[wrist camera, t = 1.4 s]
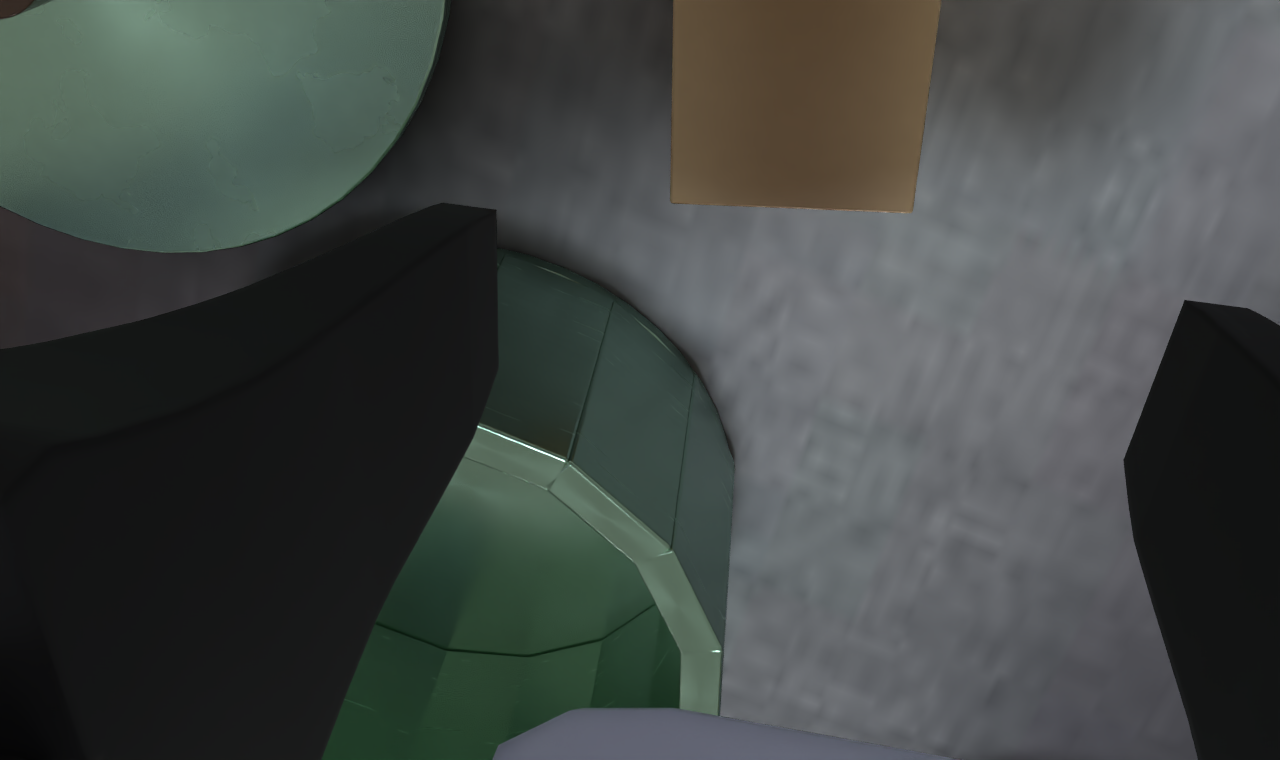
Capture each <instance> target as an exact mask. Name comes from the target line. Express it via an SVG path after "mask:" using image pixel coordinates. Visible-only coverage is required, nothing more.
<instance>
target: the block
mask: <svg viewBox="0 0 1280 760" xmlns="http://www.w3.org/2000/svg"><path fill="white" fill-rule="evenodd" d="M941 1H942V0H673V43H672V111H671V179H670V201H671V203H674V204H698V205H722V206H746V207H770V208H794V209H818V210H842V211H866V212H890V213H912V211H913V206H914V198H915V191H916V184H917V176H918V169H919V162H920V155H921V147H922V140H923V133H924V125H925V118H926V111H927V103H928V96H929V89H930V81H931V74H932V67H933V60H934V52H935V45H936V38H937V30H938V23H939V16H940V8H941Z"/></svg>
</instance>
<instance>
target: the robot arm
mask: <svg viewBox="0 0 1280 760" xmlns="http://www.w3.org/2000/svg"><path fill="white" fill-rule="evenodd" d="M498 369H499V349H498V284H497V219H496V210H493V209H486V208H478V207H471V206H463V205H455V204H448V203H440V204H437V205H434V206H430V207H428V208H425V209H422V210H420V211H417V212H415V213H413V214H410V215H408V216H406V217H403V218H401V219H399V220H397V221H395V222H392V223H390V224H388V225H386V226H384V227H382V228H380V229H377V230H375V231H373V232H371V233H369V234H367V235H364V236H362V237H360V238H358V239H356V240H354V241H352V242H349V243H347V244H345V245H343V246H341V247H339V248H336V249H334V250H332V251H330V252H328V253H326V254H323V255H321V256H319V257H317V258H314V259H312V260H310V261H307V262H305V263H302V264H300V265H297V266H295V267H293V268H290V269H288V270H285V271H283V272H280V273H278V274H275V275H273V276H271V277H268V278H266V279H263V280H261V281H258V282H256V283H253V284H251V285H249V286H246V287H244V288H241V289H238V290H236V291H233V292H230V293H227V294H225V295H222V296H219V297H216V298H213V299H210V300H207V301H204V302H201V303H198V304H195V305H191V306H188V307H185V308H181V309H178V310H175V311H171V312H168V313H165V314H161V315H158V316H155V317H151V318H147V319H144V320H140V321H136V322H132V323H128V324H123V325H119V326H114V327H110V328H105V329H101V330H96V331H92V332H87V333H83V334H78V335H74V336H70V337H65V338H61V339H56V340H52V341H47V342H42V343H37V344H31V345H25V346H19V347H13V348H7V349H0V760H321V759H322V757H323V754H324V752H325V749H326V746H327V744H328V741H329V738H330V736H331V733H332V730H333V728H334V725H335V723H336V720H337V717H338V715H339V712H340V709H341V707H342V704H343V701H344V699H345V696H346V694H347V691H348V689H349V686H350V684H351V681H352V679H353V676H354V674H355V671H356V669H357V666H358V664H359V661H360V659H361V656H362V654H363V652H364V649H365V647H366V644H367V642H368V639H369V637H370V634H371V632H372V629H373V627H374V624H375V622H376V620H377V617H378V615H379V613H380V611H381V609H382V607H383V605H384V603H385V601H386V599H387V597H388V595H389V593H390V591H391V589H392V586H393V584H394V583H395V581H396V579H397V577H398V575H399V573H400V572H401V570H402V568H403V566H404V564H405V563H406V561H407V559H408V557H409V555H410V554H411V552H412V550H413V548H414V546H415V544H416V543H417V541H418V539H419V537H420V535H421V534H422V532H423V530H424V528H425V526H426V525H427V523H428V521H429V519H430V517H431V515H432V514H433V512H434V510H435V508H436V506H437V505H438V503H439V501H440V499H441V497H442V496H443V494H444V492H445V490H446V488H447V486H448V485H449V483H450V481H451V479H452V477H453V475H454V473H455V472H456V470H457V468H458V466H459V464H460V462H461V460H462V459H463V457H464V455H465V453H466V451H467V449H468V447H469V445H470V443H471V442H472V440H473V438H474V435H475V433H476V430H477V427H478V425H479V422H480V419H481V417H482V414H483V412H484V409H485V406H486V403H487V400H488V398H489V395H490V392H491V389H492V386H493V383H494V380H495V377H496V375H497V372H498ZM1124 468H1125V477H1126V486H1127V495H1128V504H1129V511H1130V518H1131V524H1132V531H1133V538H1134V542H1135V546H1136V549H1137V553H1138V557H1139V560H1140V564H1141V567H1142V570H1143V574H1144V577H1145V581H1146V584H1147V587H1148V591H1149V594H1150V597H1151V601H1152V604H1153V607H1154V611H1155V614H1156V617H1157V620H1158V624H1159V627H1160V630H1161V633H1162V637H1163V640H1164V643H1165V646H1166V650H1167V653H1168V656H1169V659H1170V663H1171V666H1172V669H1173V672H1174V676H1175V679H1176V682H1177V685H1178V689H1179V692H1180V695H1181V698H1182V702H1183V705H1184V708H1185V711H1186V715H1187V718H1188V721H1189V725H1190V729H1191V733H1192V737H1193V741H1194V745H1195V749H1196V753H1197V757H1198V760H1280V326H1279V325H1278V324H1276V323H1274V322H1273V321H1271V320H1269V319H1268V318H1266V317H1264V316H1262V315H1260V314H1258V313H1256V312H1254V311H1252V310H1250V309H1248V308H1241V307H1233V306H1226V305H1218V304H1210V303H1203V302H1195V301H1188V300H1185V301H1184V303H1183V306H1182V309H1181V311H1180V314H1179V316H1178V319H1177V322H1176V324H1175V327H1174V329H1173V332H1172V335H1171V337H1170V340H1169V343H1168V345H1167V348H1166V350H1165V353H1164V356H1163V358H1162V361H1161V364H1160V366H1159V369H1158V371H1157V374H1156V377H1155V379H1154V382H1153V384H1152V387H1151V390H1150V392H1149V395H1148V398H1147V400H1146V403H1145V405H1144V408H1143V411H1142V413H1141V416H1140V419H1139V421H1138V424H1137V426H1136V429H1135V432H1134V434H1133V437H1132V439H1131V442H1130V445H1129V447H1128V450H1127V453H1126V455H1125V458H1124ZM492 760H961V759H956V758H950V757H945V756H939V755H933V754H928V753H922V752H917V751H911V750H906V749H900V748H894V747H889V746H883V745H878V744H872V743H867V742H861V741H855V740H850V739H844V738H839V737H833V736H828V735H822V734H816V733H811V732H805V731H800V730H794V729H789V728H783V727H778V726H772V725H766V724H761V723H755V722H750V721H744V720H739V719H733V718H727V717H722V716H716V715H711V714H705V713H700V712H694V711H688V710H683V709H677V708H580V709H575V710H570V711H568V712H565V713H563V714H561V715H559V716H557V717H555V718H553V719H551V720H549V721H547V722H545V723H543V724H541V725H539V726H537V727H535V728H532V729H530V730H528V731H526V732H524V733H522V734H520V735H518V736H516V737H514V738H512V739H510V740H508V741H506V742H504V743H502V744H500V745H498V747H497V750H496V752H495V754H494V757H493V759H492Z"/></svg>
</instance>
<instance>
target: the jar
mask: <svg viewBox="0 0 1280 760" xmlns="http://www.w3.org/2000/svg"><path fill="white" fill-rule="evenodd" d="M497 284H498V349H499V369H498V372H497V375H496V377H495V380H494V383H493V386H492V389H491V392H490V395H489V398H488V400H487V403H486V406H485V409H484V412H483V414H482V417H481V419H480V422H479V425H478V427H477V430H476V433H475V435H474V438H473V440H472V442H471V443H470V445H469V447H468V449H467V451H466V453H465V455H464V457H463V459H462V460H461V462H460V464H459V466H458V468H457V470H456V472H455V473H454V475H453V477H452V479H451V481H450V483H449V485H448V486H447V488H446V490H445V492H444V494H443V496H442V497H441V499H440V501H439V503H438V505H437V506H436V508H435V510H434V512H433V514H432V515H431V517H430V519H429V521H428V523H427V525H426V526H425V528H424V530H423V532H422V534H421V535H420V537H419V539H418V541H417V543H416V544H415V546H414V548H413V550H412V552H411V554H410V555H409V557H408V559H407V561H406V563H405V564H404V566H403V568H402V570H401V572H400V573H399V575H398V577H397V579H396V581H395V583H394V584H393V586H392V589H391V591H390V593H389V595H388V597H387V599H386V601H385V603H384V605H383V607H382V609H381V611H380V613H379V615H378V617H377V620H376V622H375V624H374V627H373V629H372V632H371V634H370V637H369V639H368V642H367V644H366V647H365V649H364V652H363V654H362V656H361V659H360V661H359V664H358V666H357V669H356V671H355V674H354V676H353V679H352V681H351V684H350V686H349V689H348V691H347V694H346V696H345V699H344V701H343V704H342V707H341V709H340V712H339V715H338V717H337V720H336V723H335V725H334V728H333V730H332V733H331V736H330V738H329V741H328V744H327V746H326V749H325V752H324V754H323V757H322V759H321V760H492V759H493V757H494V754H495V752H496V750H497V747H498V745H500V744H502V743H504V742H506V741H508V740H510V739H512V738H514V737H516V736H518V735H520V734H522V733H524V732H526V731H528V730H530V729H532V728H535V727H537V726H539V725H541V724H543V723H545V722H547V721H549V720H551V719H553V718H555V717H557V716H559V715H561V714H563V713H565V712H568V711H570V710H575V709H580V708H677V709H683V710H688V711H694V712H700V713H705V714H711V715H716V716H720V707H721V691H722V674H723V658H724V642H725V626H726V610H727V593H728V577H729V561H730V545H731V526H732V508H733V489H734V471H735V465H734V460H733V458H732V456H731V453H730V451H729V447H728V442H727V438H726V435H725V432H724V429H723V427H722V424H721V421H720V418H719V415H718V412H717V410H716V408H715V406H714V404H713V402H712V400H711V398H710V396H709V395H708V393H707V391H706V389H705V387H704V385H703V383H702V381H701V380H700V379H699V377H698V376H697V374H696V373H695V372H694V370H693V369H692V367H691V366H690V365H689V363H688V362H687V360H686V359H685V358H684V356H683V355H682V354H681V353H680V351H679V350H678V349H677V348H676V347H675V346H674V345H673V344H672V343H671V342H670V341H669V340H668V339H667V338H666V337H665V335H664V334H663V333H662V332H661V331H660V330H659V329H658V328H657V327H656V326H655V325H653V324H652V323H651V322H650V321H648V320H647V319H646V318H645V317H644V316H642V315H641V314H640V313H639V312H638V311H636V310H635V309H634V308H633V307H632V306H630V305H629V304H628V303H626V302H625V301H623V300H621V299H620V298H618V297H617V296H615V295H614V294H612V293H611V292H609V291H608V290H606V289H604V288H603V287H601V286H600V285H598V284H596V283H594V282H592V281H590V280H588V279H586V278H584V277H582V276H580V275H578V274H576V273H574V272H572V271H570V270H568V269H566V268H564V267H561V266H558V265H555V264H553V263H550V262H547V261H544V260H541V259H538V258H536V257H533V256H530V255H527V254H523V253H518V252H514V251H510V250H505V249H501V248H497Z"/></svg>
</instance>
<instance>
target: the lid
mask: <svg viewBox="0 0 1280 760" xmlns="http://www.w3.org/2000/svg"><path fill="white" fill-rule="evenodd" d="M450 6H451V0H0V207H3V208H5V209H7V210H9V211H11V212H13V213H16V214H18V215H20V216H22V217H24V218H26V219H29V220H31V221H33V222H35V223H37V224H39V225H42V226H45V227H48V228H51V229H54V230H56V231H59V232H62V233H65V234H68V235H71V236H74V237H77V238H80V239H83V240H87V241H92V242H96V243H101V244H105V245H109V246H114V247H118V248H123V249H132V250H141V251H150V252H159V253H191V252H209V251H215V250H222V249H229V248H235V247H242V246H245V245H249V244H252V243H255V242H259V241H262V240H266V239H269V238H272V237H276V236H279V235H281V234H283V233H285V232H287V231H289V230H292V229H294V228H296V227H298V226H300V225H302V224H304V223H307V222H309V221H311V220H313V219H314V218H316V217H317V216H319V215H320V214H322V213H323V212H325V211H326V210H328V209H329V208H331V207H332V206H334V205H335V204H337V203H338V202H340V201H341V200H343V199H344V198H345V197H346V196H347V195H348V194H349V193H351V192H352V191H353V190H354V189H355V188H356V187H357V186H358V185H359V184H360V183H361V182H362V181H364V180H365V179H366V178H367V177H368V176H369V175H370V174H371V173H372V172H373V171H374V170H375V169H376V168H377V166H378V165H379V164H380V163H381V161H382V160H383V159H384V158H385V156H386V155H387V154H388V153H389V151H390V150H391V149H392V148H393V146H394V145H395V144H396V142H397V141H398V140H399V139H400V137H401V136H402V135H403V133H404V131H405V130H406V128H407V126H408V124H409V123H410V121H411V119H412V117H413V116H414V114H415V112H416V110H417V109H418V107H419V105H420V103H421V102H422V100H423V98H424V95H425V93H426V90H427V88H428V85H429V83H430V80H431V77H432V75H433V72H434V70H435V67H436V65H437V62H438V60H439V56H440V52H441V48H442V44H443V39H444V35H445V31H446V27H447V23H448V18H449V14H450Z"/></svg>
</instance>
